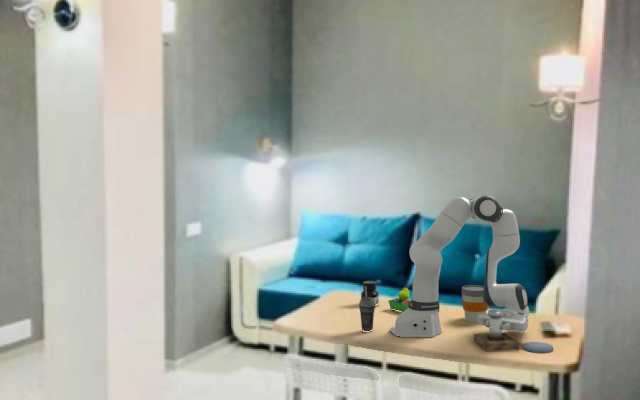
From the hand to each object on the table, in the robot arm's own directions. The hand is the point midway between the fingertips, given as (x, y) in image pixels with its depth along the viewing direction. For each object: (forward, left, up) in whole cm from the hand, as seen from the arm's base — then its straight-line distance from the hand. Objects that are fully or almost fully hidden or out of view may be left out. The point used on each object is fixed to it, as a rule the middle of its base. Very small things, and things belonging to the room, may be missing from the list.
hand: (494, 326), depth 288 cm
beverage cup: (-46, +31, -8) cm, 56 cm away
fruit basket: (-22, +62, -8) cm, 66 cm away
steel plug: (+1, +1, -8) cm, 8 cm away
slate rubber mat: (+16, -6, -8) cm, 19 cm away
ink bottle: (-35, +76, -8) cm, 84 cm away
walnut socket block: (+1, +1, -8) cm, 8 cm away
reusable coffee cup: (+7, +40, -8) cm, 41 cm away
